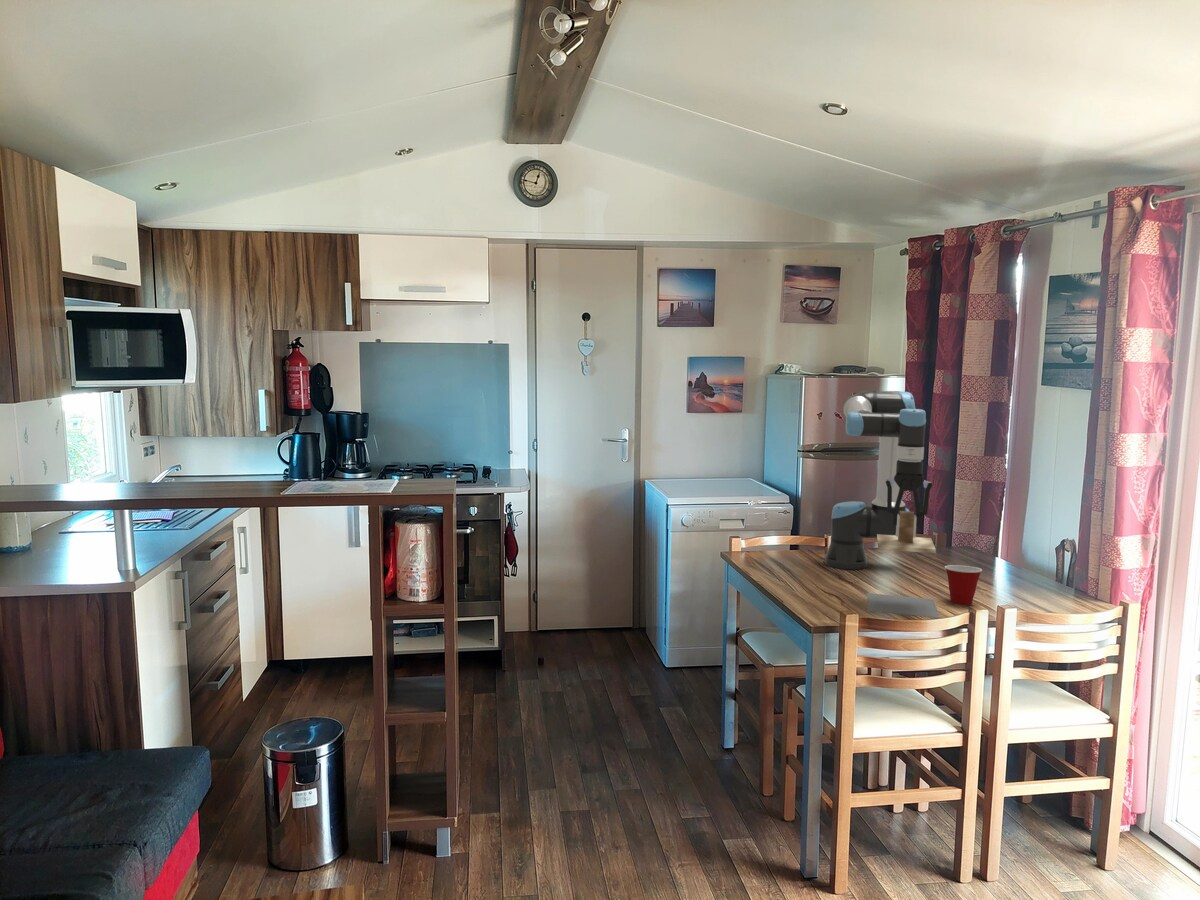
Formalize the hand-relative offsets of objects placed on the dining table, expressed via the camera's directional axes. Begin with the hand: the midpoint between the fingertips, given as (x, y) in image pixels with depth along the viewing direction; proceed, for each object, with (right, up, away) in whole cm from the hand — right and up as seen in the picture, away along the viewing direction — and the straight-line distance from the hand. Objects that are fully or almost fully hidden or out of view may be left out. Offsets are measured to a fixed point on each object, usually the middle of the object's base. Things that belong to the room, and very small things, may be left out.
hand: (905, 536), depth 252 cm
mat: (0, -22, +2) cm, 22 cm away
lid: (0, -3, 0) cm, 3 cm away
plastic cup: (+20, -22, +7) cm, 30 cm away
